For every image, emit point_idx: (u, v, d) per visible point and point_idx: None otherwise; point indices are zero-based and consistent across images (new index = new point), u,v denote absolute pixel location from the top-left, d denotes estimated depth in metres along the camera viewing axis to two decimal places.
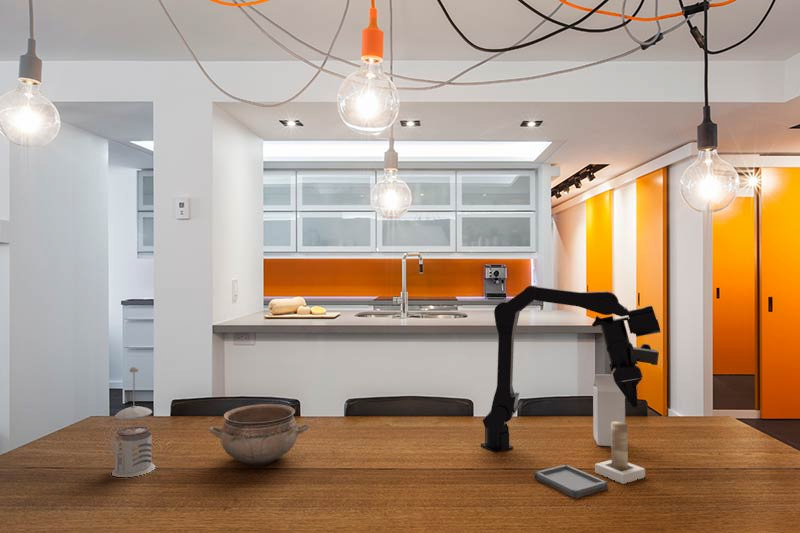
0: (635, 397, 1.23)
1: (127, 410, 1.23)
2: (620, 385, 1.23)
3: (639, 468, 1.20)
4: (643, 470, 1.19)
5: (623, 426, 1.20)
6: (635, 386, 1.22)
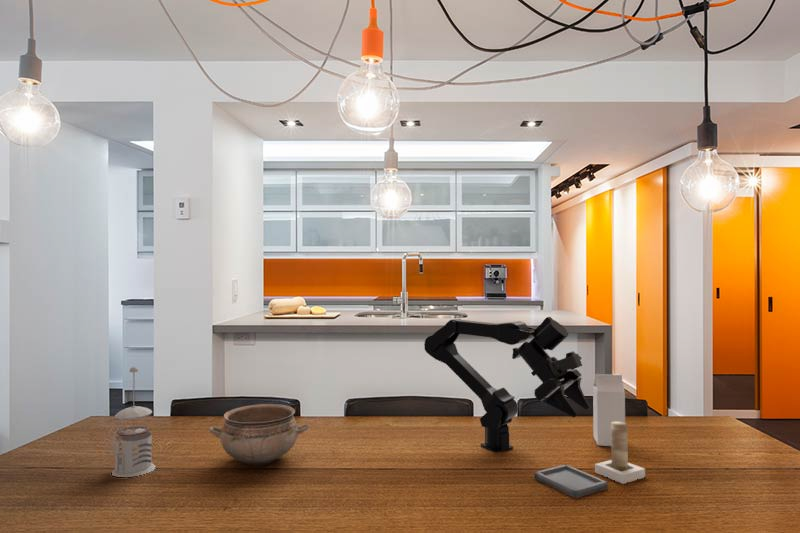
0: (569, 407, 1.23)
1: (127, 410, 1.23)
2: (550, 402, 1.25)
3: (639, 468, 1.20)
4: (643, 470, 1.19)
5: (623, 426, 1.20)
6: (562, 397, 1.23)
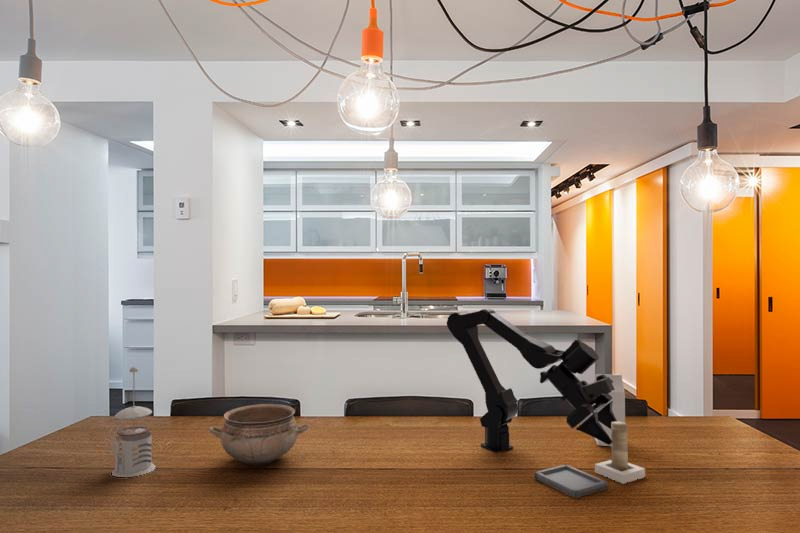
0: (603, 434, 1.18)
1: (127, 410, 1.23)
2: (583, 429, 1.20)
3: (639, 468, 1.20)
4: (643, 470, 1.19)
5: (623, 426, 1.20)
6: (595, 424, 1.18)
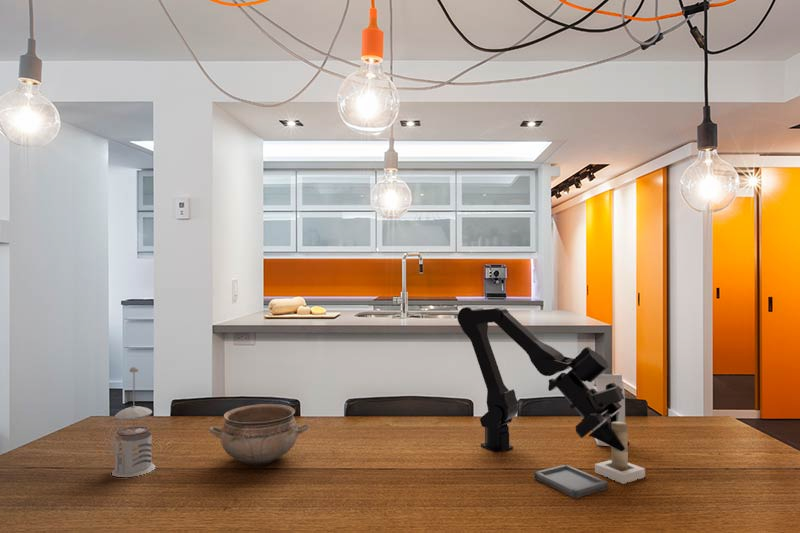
0: (616, 441, 1.19)
1: (127, 410, 1.23)
2: (596, 435, 1.21)
3: (639, 468, 1.20)
4: (643, 470, 1.19)
5: (623, 426, 1.20)
6: (608, 430, 1.19)
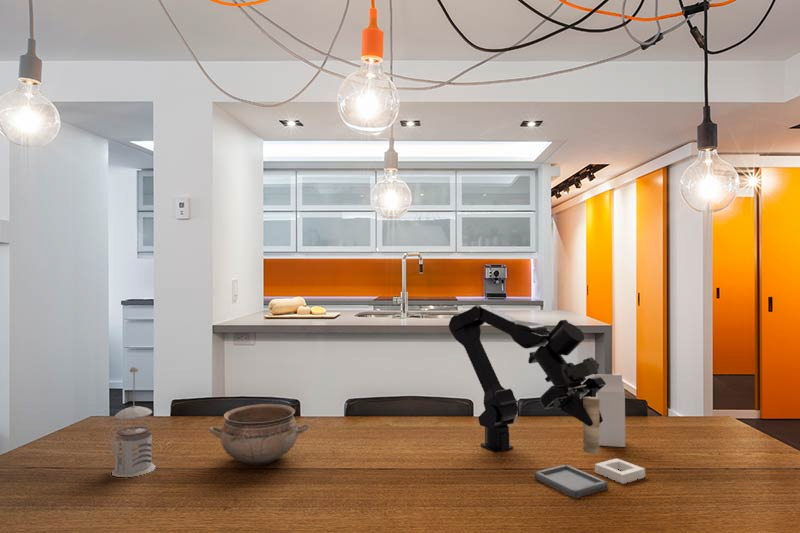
0: (584, 415, 1.16)
1: (127, 410, 1.23)
2: (564, 408, 1.19)
3: (639, 468, 1.20)
4: (643, 470, 1.19)
5: (593, 401, 1.16)
6: (576, 404, 1.16)
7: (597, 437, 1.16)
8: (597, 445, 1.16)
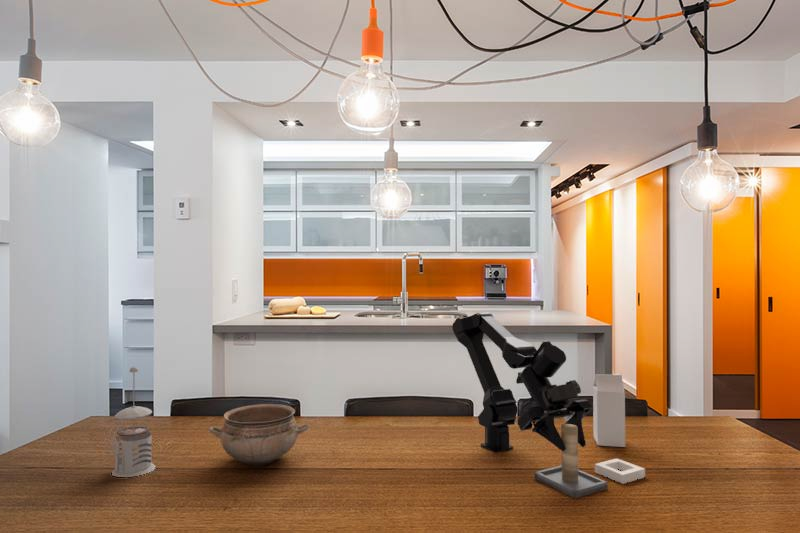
0: (557, 439, 1.14)
1: (127, 410, 1.23)
2: (540, 432, 1.18)
3: (639, 468, 1.20)
4: (643, 470, 1.19)
5: (569, 429, 1.15)
6: (549, 427, 1.15)
7: (574, 466, 1.15)
8: (574, 474, 1.15)
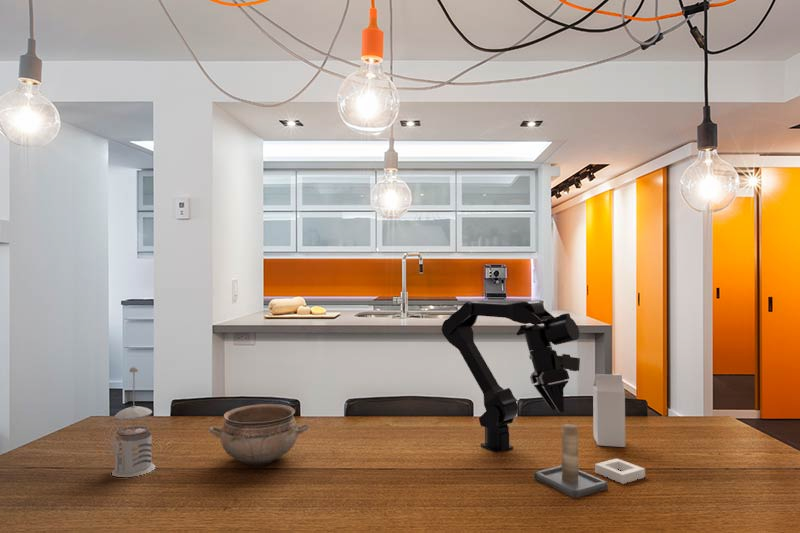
0: (562, 401, 1.23)
1: (127, 410, 1.23)
2: (548, 389, 1.23)
3: (639, 468, 1.20)
4: (643, 470, 1.19)
5: (570, 429, 1.15)
6: (562, 390, 1.23)
7: (575, 466, 1.15)
8: (575, 474, 1.15)
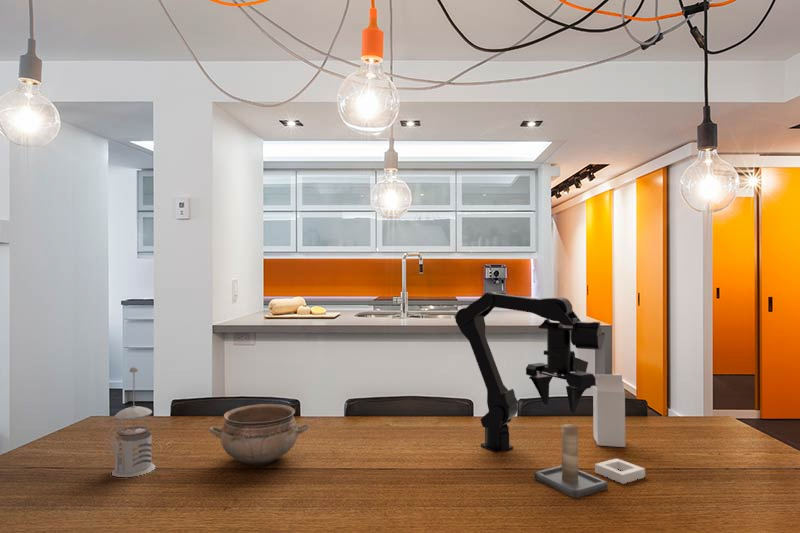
0: (577, 403, 1.27)
1: (127, 410, 1.23)
2: (573, 391, 1.25)
3: (639, 468, 1.20)
4: (643, 470, 1.19)
5: (569, 429, 1.15)
6: (582, 393, 1.26)
7: (574, 466, 1.15)
8: (575, 474, 1.15)
